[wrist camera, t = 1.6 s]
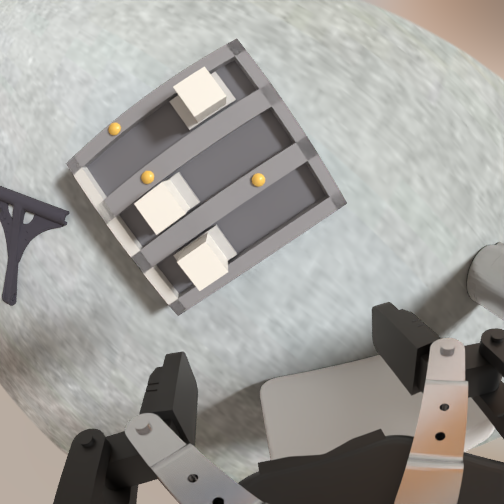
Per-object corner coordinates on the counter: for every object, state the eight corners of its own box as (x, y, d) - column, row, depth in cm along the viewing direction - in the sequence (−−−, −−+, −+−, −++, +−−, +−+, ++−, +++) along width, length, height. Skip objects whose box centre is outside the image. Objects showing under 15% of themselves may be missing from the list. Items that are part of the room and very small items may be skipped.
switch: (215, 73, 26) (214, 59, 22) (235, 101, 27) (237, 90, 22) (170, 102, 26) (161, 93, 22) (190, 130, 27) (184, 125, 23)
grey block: (263, 417, 41) (282, 522, 24) (257, 379, 39) (277, 494, 22) (434, 372, 42) (494, 441, 25) (442, 334, 40) (514, 401, 23)
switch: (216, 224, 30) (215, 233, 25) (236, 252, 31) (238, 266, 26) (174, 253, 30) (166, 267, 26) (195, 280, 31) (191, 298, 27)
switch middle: (179, 171, 28) (171, 173, 24) (200, 201, 29) (196, 207, 25) (137, 203, 28) (124, 210, 24) (158, 232, 29) (148, 243, 25)
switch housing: (235, 53, 28) (237, 37, 24) (332, 198, 33) (347, 203, 29) (83, 162, 30) (65, 163, 25) (182, 299, 35) (177, 316, 31)
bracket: (-19, 281, 32) (-29, 287, 30) (-10, 180, 29) (-23, 182, 26) (56, 318, 35) (47, 328, 32) (72, 210, 32) (61, 214, 29)
